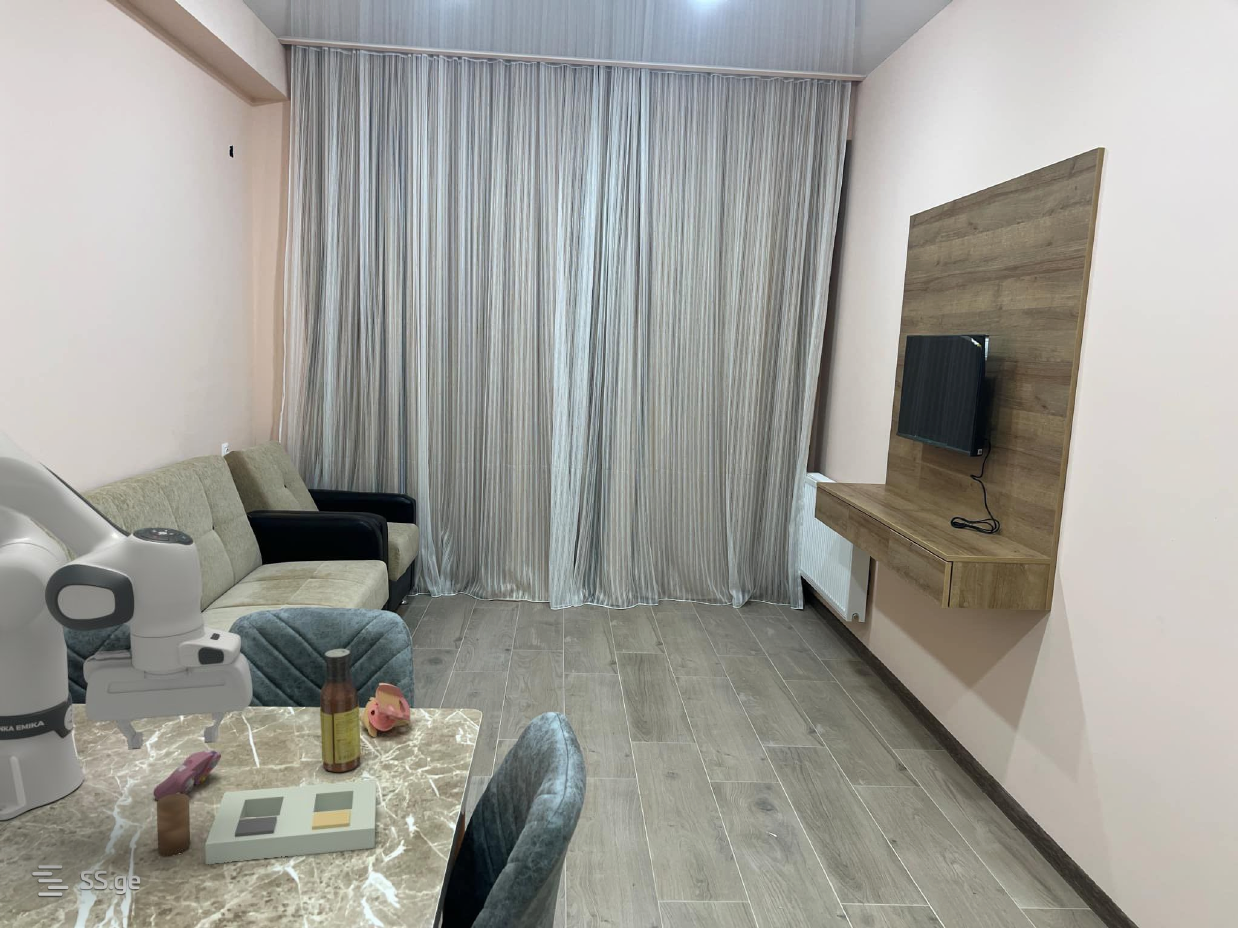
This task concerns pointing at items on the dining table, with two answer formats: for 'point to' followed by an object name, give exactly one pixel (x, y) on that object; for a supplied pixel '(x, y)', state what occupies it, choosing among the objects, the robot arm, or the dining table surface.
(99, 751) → the dining table surface
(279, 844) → the socket block
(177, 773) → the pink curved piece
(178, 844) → the plug
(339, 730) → the sauce bottle
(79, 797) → the dining table surface
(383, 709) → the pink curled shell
